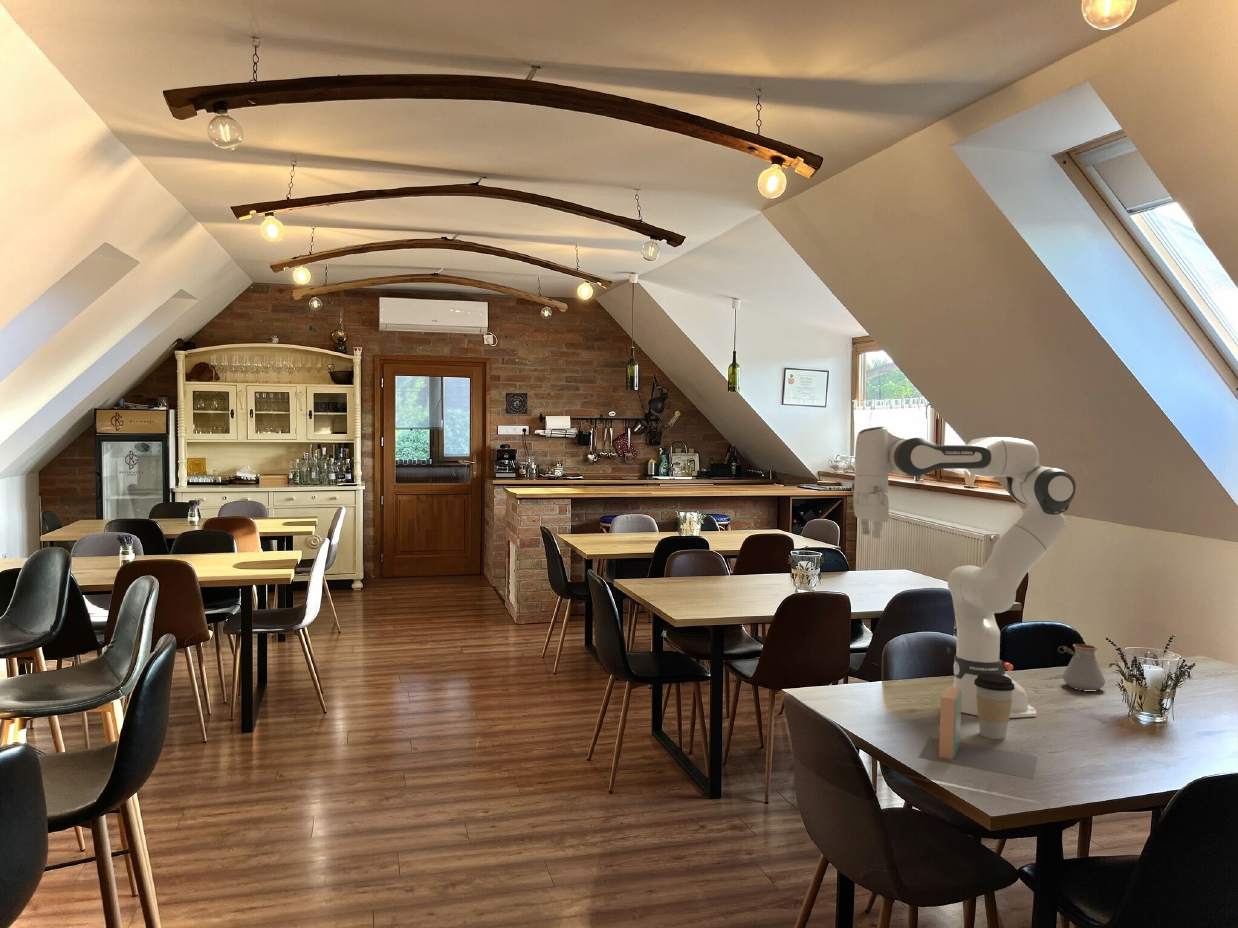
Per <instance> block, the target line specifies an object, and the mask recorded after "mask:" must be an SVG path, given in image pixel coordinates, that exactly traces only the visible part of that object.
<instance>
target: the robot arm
mask: <svg viewBox="0 0 1238 928" xmlns="http://www.w3.org/2000/svg"><path fill="white" fill-rule="evenodd" d="M854 461H855V465H856V469H855V472H854V481H853V482H852V484H851V491H852V492H853V496H852V498H853V499H852V501H853V512H854V513H853V514H854V516H855V518H858V519H860V520H859V523H860V526H861V534H862V535H863V536H869V535H870V534H871V537H872V538H873V539H880V538H881V532H882V527H883V523H888V521H889V519H890V510H889V505H890V503H889V496H888V495H887V493H889V473H890V472H892V473H895V474H897V475H909V476H914V477H920V476H921V477H922V476H924V475H927V474H929V473H931V472H932V473H933V472H934V471H936V470H947V469H948V470H949V469H950V470H952V469H954V470H955V469H959V470H961V469H963V470H967V471H968V472H969V474H972V475H975V476H980V477H981V476H982V477H989V478H991V477H992V478H997V477H998V478H999V477H1000V478H1001V477H1005V479H1006V481H1007V482H1006V485H1007V491H1008V493H1009V495H1010V496H1011V497H1012V498H1013V499H1014V500H1015V501H1017V502H1019V503H1021V504H1024V505H1026V507H1025V511H1024V513H1023V514H1022V515H1021V517H1020V518H1019V519H1018V520H1017V521H1016V522H1014V524H1013V525H1012V526H1011V527H1010V528H1009V529H1008V530H1007V531H1006V532H1005V533H1004V534H1003V535H1002V536H1001V537H1000V538H999V539H998V540H997V541H996V542H995V543H994V544H993V546H992V553H991V554H990V556H989V558H988V559H987V561H986V563H984V564H983V566H982V567H979V566H975V565H962V566H961V565H960V566H957V567H955V568H954V569H953V570H952V571H951V572H950V573H949V575H948V576H947V588H948V590H949V592H950V594H951V598H952V605H953V612H954V617H955V621H956V622H955V623H956V650H955V651H956V654H955V655H954V660H953V662H954V663H953V675H954V681H953V685H952V687H954V688H960V690H962V697H961V713H964V714H968V715H973V716H977V717H978V711H977V696H976V694H977V687H976V685H975V684H974V682H975V681H974V680H975V679H976V678H977V676H978V675H979V674H985V673H988V674H998V675H1003V676H1006V677H1009V678H1011V677H1010V675H1008V674H1007V673H1006V671H1008V672H1011V671H1013V669H1014V665H1013V664H1011V663H1010V662H1005V661H1003V660H1001V659H1000V652H1001V649H1000V648H1001V647H1000V645H1001V631H1000V628H999V626H998V623H997V621H996V616H995V614H1001V613H1004V612H1007V611H1009V610H1010V609H1011V608H1012V607H1013V605H1015V601H1016V597H1017V590H1018V588H1019V586H1020V584H1021V582H1022V581H1023V579H1024V578H1025V576H1026V574H1028V572H1029V571H1030V570H1031V569H1032V568H1033V567H1034V566H1035V565H1036V563H1038V562H1039V561H1040V560H1041V559H1042V558H1043V556H1045V555H1046V553H1047V552H1048V551H1049V550H1051V548H1053V546H1054V545H1055V543H1056V542H1057V541H1058V540H1059V538H1060V537H1061V535H1062V534H1063V532H1064V531H1065V529H1066V526H1067V519H1066V518H1065V515H1064V513H1065V512H1066V511H1068V509H1069V508H1070V503H1072V501H1073V499H1074V497H1075V494H1076V491H1077V484H1076V480H1075V479H1074V477H1073V476H1072V475H1071V474H1070V473H1068V472H1067V471H1065V470H1063V469H1061V468H1058V467H1049V466H1042V464H1041V463H1040V453H1039V450H1038V447H1037V445H1036V444H1035V443H1033V442H1032V441H1030V440H1028V439H1024V438H1017V437H1007V436H988V437H987V436H986V437H979V438H974V439H971V440H970V441H968V443H967V444H956V445H955V444H937V443H935V442H932V441H930V440H928V439H925V438H922V437H911V438H907V439H906V438H904V437H902V436H899V435H897V434H896V433H895V434H894V432H892V431H890V430H889V429H887V427H884V426H876V427H868V428H863V429H862V430H860V431H859V432H858V434H857V436H856V442H855V452H854ZM869 522H872V526H873V528H872V531H871V528H870V525H869ZM870 531H871V533H870ZM1011 679H1012V683H1013V684H1014V687H1015V689H1014V690H1013V692H1012V703H1011V710H1010V717H1009V719H1012V718H1013V719H1014V718H1016V719H1017V718H1032V717H1034V718H1035V717H1037V714H1038V713H1037V710H1036V709H1035V708H1034V707H1033V706H1032V705H1030V704H1029V702H1028V701H1029V700H1028V696H1027V693H1026V690H1025V689H1024V688H1023V687H1022V686H1021V684H1019V683H1018V682H1016V681H1015V680H1014V679H1013V678H1011Z"/></svg>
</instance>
